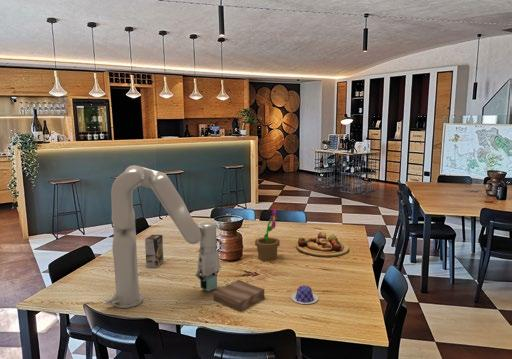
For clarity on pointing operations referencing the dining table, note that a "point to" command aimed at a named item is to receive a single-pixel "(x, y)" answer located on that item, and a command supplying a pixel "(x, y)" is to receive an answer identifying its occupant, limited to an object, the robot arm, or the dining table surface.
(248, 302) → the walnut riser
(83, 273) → the dining table surface
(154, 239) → the coffee box
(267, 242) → the flowerpot
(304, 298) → the pudding
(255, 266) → the dining table surface
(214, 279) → the teal cube
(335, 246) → the wooden plate with food
